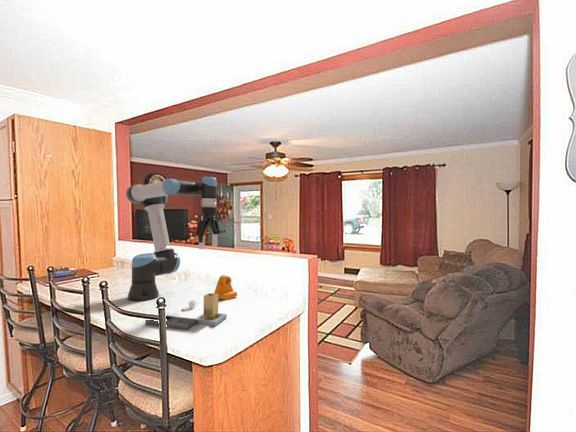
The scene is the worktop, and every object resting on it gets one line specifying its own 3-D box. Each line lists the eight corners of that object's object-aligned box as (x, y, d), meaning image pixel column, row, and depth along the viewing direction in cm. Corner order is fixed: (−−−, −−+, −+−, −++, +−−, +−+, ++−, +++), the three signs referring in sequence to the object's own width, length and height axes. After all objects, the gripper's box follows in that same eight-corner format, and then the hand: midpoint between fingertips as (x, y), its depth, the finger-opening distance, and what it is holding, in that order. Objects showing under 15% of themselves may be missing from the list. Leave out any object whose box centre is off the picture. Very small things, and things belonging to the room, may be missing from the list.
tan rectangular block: (203, 321, 129) (203, 295, 129) (208, 317, 134) (209, 292, 134) (212, 322, 128) (213, 296, 128) (217, 318, 133) (218, 293, 132)
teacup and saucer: (182, 313, 141) (182, 304, 141) (180, 308, 149) (180, 300, 149) (201, 311, 145) (201, 302, 145) (199, 306, 152) (199, 298, 152)
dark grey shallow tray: (145, 325, 125) (145, 319, 125) (156, 319, 131) (156, 314, 131) (188, 331, 120) (188, 324, 120) (197, 324, 126) (197, 318, 126)
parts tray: (194, 323, 127) (194, 319, 127) (206, 316, 137) (206, 311, 137) (215, 326, 125) (215, 321, 125) (226, 318, 134) (226, 314, 134)
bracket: (220, 300, 161) (220, 278, 161) (214, 297, 167) (214, 276, 166) (237, 297, 168) (238, 276, 168) (231, 294, 174) (231, 273, 173)
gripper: (202, 206, 144) (202, 250, 145) (226, 207, 169) (225, 245, 169) (189, 206, 146) (188, 249, 146) (214, 207, 170) (213, 244, 171)
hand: (208, 247), depth 158 cm, fingers open, 13 cm apart
